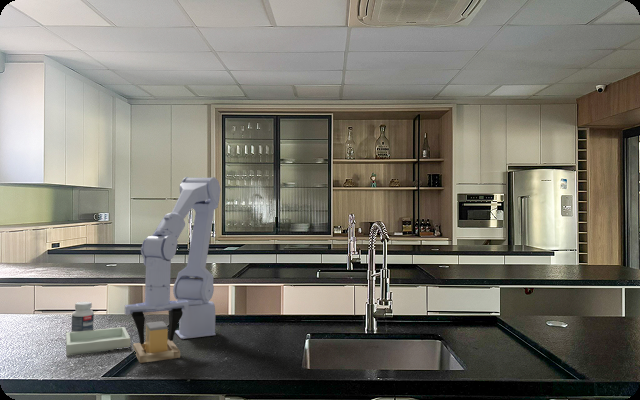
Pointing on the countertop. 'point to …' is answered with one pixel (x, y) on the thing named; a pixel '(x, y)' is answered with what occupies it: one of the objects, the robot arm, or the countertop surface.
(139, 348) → the socket block
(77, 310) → the pill bottle
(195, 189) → the robot arm
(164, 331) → the tan boxy piece
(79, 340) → the tray
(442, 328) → the countertop surface
